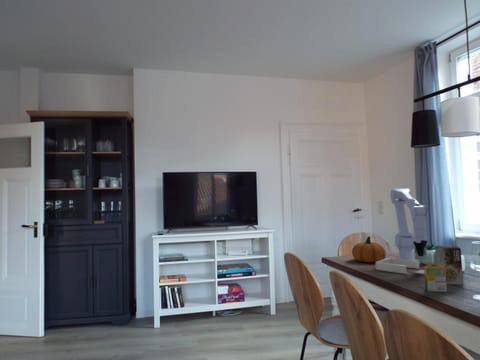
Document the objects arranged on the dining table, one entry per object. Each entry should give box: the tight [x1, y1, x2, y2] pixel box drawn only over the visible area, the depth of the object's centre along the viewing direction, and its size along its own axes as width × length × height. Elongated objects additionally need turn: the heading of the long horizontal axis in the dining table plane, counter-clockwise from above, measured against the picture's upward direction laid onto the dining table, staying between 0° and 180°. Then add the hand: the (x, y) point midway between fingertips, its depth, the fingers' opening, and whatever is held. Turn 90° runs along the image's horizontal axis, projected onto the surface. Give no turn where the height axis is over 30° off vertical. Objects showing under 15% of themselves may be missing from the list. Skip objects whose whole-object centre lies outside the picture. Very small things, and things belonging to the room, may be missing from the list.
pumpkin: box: [351, 236, 387, 264], centre depth 205 cm, size 19×19×15 cm
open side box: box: [375, 257, 420, 274], centre depth 181 cm, size 18×16×4 cm
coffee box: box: [434, 245, 464, 286], centre depth 150 cm, size 9×6×16 cm
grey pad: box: [413, 269, 425, 276], centre depth 169 cm, size 9×9×1 cm
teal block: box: [413, 247, 428, 261], centre depth 172 cm, size 4×5×6 cm
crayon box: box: [423, 262, 448, 293], centre depth 138 cm, size 7×3×12 cm, turn 78°
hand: (421, 255), depth 172 cm, fingers closed on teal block, 4 cm apart
